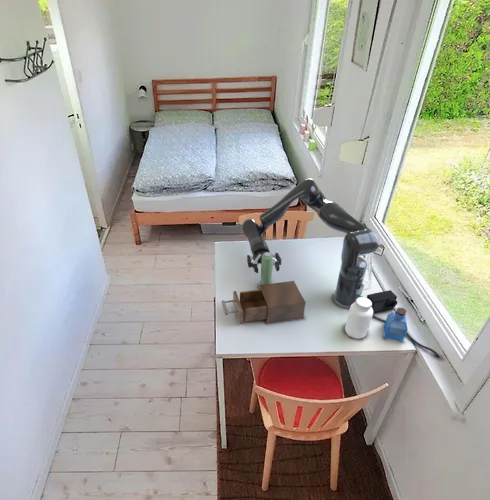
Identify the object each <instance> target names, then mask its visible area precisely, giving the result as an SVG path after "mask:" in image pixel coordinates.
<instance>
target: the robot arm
mask: <svg viewBox="0 0 490 500" xmlns="http://www.w3.org/2000/svg"><path fill="white" fill-rule="evenodd" d="M299 198H300V200H301V201H302V202H303V204H305V205H306V206H307V207H309V208H311V209H312V210H313V211H314V212H315V213H316V214H317V216H318V218H319V219H320V220H321V221H322V222H323V223H324V224H325V226H327V227H328V228H329V229H331V230H333V231H336V232H339V233H342V234H345V235H344V237H343V241H342V247H341V255H340V258H341V259H340V260H341V264H340V269H339V272H338V278H337V282H336V286H335V290H334V295H333V301H334V303H335V304H336V305H338V306H339V307H342V308H345V309H350V306H351V305H352V304H353V303H355V302H356V299H357V298H359V297H363V291H364V287H365V284H363V283H364V279H365V275H366V272H367V268H368V263H367V261H366V260H365V258H363V257H361V256H365V255H370V254H373V253H375V252H376V251H378V250H379V247H380V240H379V238H378V236H377V234H376V233H375V232H374V231H373V230H372V229H371V228H369V227H368V226H366V225H365V224H363V223H361V222H360V221H358V220H357V219H356V218H355V217H354V216H352V215H351V214H350V213H349V212H348V211H346V209H344V208H343V207H342V206H341V205H340V204H338V203H337V202H335V201H332V200H329V199H328V198H327V197H326V196H325V194H323V192H322V190H321V189H320V187H319V186H318V185H317V183H316V182H315V181H314V179H313V178H306V179H303V180H302V181H299V183H298V184H297V185H295V186H294V187H293V188H292V189H291V190H289V192H288V193H286V194H285V195H284V196H283V198H281V199H280V200H279V201H278V202H277V203H276V204H274V205H273V206H271V207H270V208H269V209H267V210H265V211H264V212H263V213H261V214H260V215H259V221H260V224H258V223H257V221H255V220H254V219H252V218H247V219H245V220H244V221H243V223H242V225H241V228H242V231H243V234H244V235H245V237H246V238H247V240H248V244H249V248H250V251H251V254H252V256H251V255H250V254H247V255H246V263H247V267H248V268H249V269H250V268H252V269H253V271H254V272H255V273H256V274H259V267H258V266H259V265H261V262H262V254H264V253H266V252H269V253H271V252H270V249H269V246H268V244H267V241H266V240H265V239H264V235H263V234H264V233H265V232H266V231H267V230H268V229H269V228H270V227H271V226H272V225H274V224H275V223H277V222H279V221H280V220H281V219H282V218H283V217H284V216H285V214H286V213H287V211H288V209H289V208H290V206H291V205H292V204H293V202H294V201H296V200H298V199H299ZM272 255H273V265H272V266H274V269H275V271H276V272H279V271H280V268H281V265H282V261H283V260H282V258H281V256H280V254H279V252H275V253H274V254H272ZM252 261H253V262H252ZM372 319H375V320H377V321H379V322H382V323H385V321H386V319H382V318H380V317H377V316H375V315H374V314H373V316H372ZM405 337H407V338H408V339H409V340H411V341H412V342H413V343H415V345H417V346H419V347H420V348H423V349H425V350H428V351H430V352H432V353H433V354H434V355H435V356H436V358H438V359H440V358H441V357H440V355H439V354H438V352H437V351H436V350H434V348H431V347H429V346H426V345H423V344H421V343H420V342H418V341H417V340H416V339H414V338H413V337H412V336H411V335H410V334H409V333H408V332H406V335H405Z"/></svg>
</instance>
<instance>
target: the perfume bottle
mask: <svg viewBox="0 0 490 500" xmlns="http://www.w3.org/2000/svg"><path fill="white" fill-rule="evenodd" d="M406 316H407V309H406V308H404V307H397V308H396V310H395V311H393V312H391V313H388V314H387V316H386V319H385V322H384V325H383V336H384V337H383V338H384V339H386V340H392V341H396V342H402V343H403V342H404V340H405V337H406V333H408V322H407V317H406Z"/></svg>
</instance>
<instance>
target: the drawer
mask: <svg viewBox="0 0 490 500" xmlns="http://www.w3.org/2000/svg"><path fill="white" fill-rule="evenodd" d="M237 292H238V291H237V290H233V291H232V295H233V296H232V299H231V300H224V299H223V300H221V306H222V309H223V312H224V315H225V316H228V315H229V314H236V318H237V321H238V324H239V325H243V324H244V321H245V323H246V322H254V321H261V320H266V319H267V312H268V307H267V304H266V302H265V299H264V297H263V295H262V292H261V290H260V289H259V288H258V289H251V290H245V291H239V295H238V293H237ZM229 303H232V304H233V305H232V306H233V308H234V310H230V311H229V310H228V306H227V304H229Z"/></svg>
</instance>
